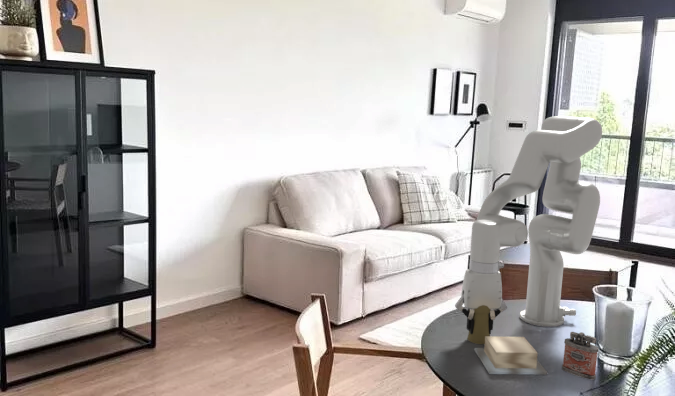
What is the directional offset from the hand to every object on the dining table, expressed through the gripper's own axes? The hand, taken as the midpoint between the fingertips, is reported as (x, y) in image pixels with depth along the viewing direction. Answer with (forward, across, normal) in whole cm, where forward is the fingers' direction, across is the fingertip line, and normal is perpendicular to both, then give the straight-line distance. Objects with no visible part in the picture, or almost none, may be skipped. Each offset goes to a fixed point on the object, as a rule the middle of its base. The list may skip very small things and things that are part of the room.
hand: (479, 331), depth 170 cm
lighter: (+3, -19, +20) cm, 28 cm away
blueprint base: (+2, -4, +14) cm, 15 cm away
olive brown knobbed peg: (+2, 0, 0) cm, 2 cm away
